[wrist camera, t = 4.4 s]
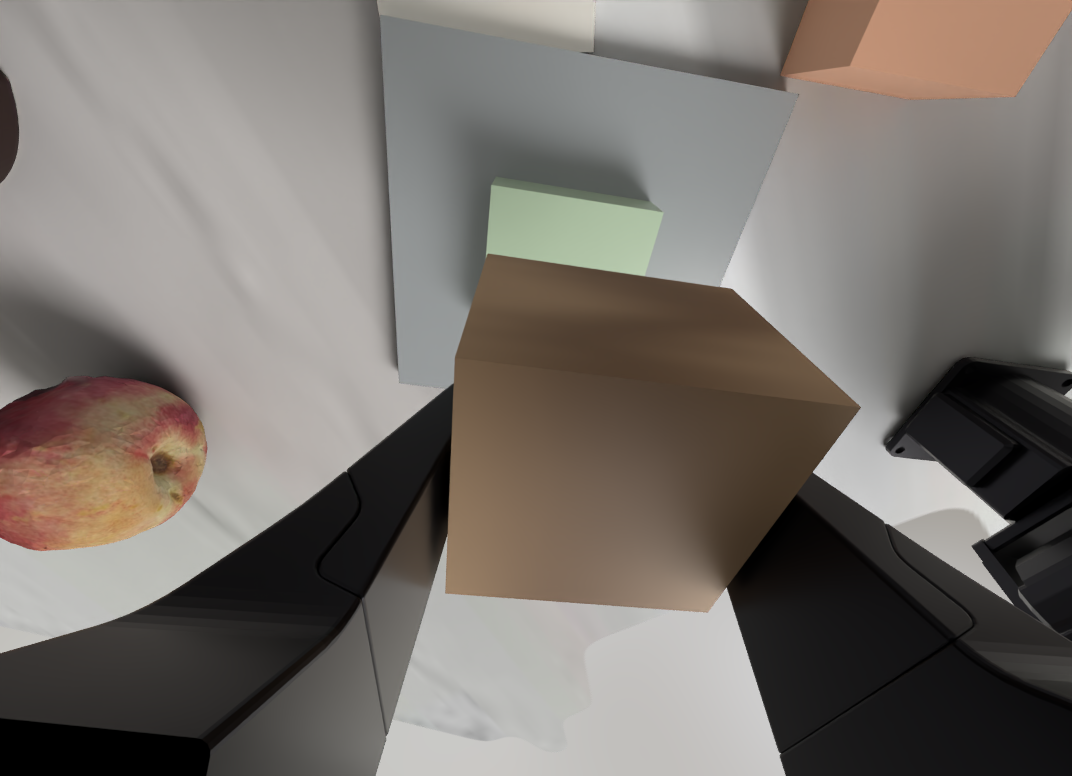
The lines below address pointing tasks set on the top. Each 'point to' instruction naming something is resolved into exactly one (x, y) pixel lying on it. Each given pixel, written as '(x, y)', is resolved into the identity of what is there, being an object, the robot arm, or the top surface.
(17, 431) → the fruit
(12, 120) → the cup
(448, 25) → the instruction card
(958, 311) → the top surface
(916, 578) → the robot arm
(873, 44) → the brick terracotta
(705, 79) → the plate
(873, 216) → the top surface
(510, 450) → the brown block
